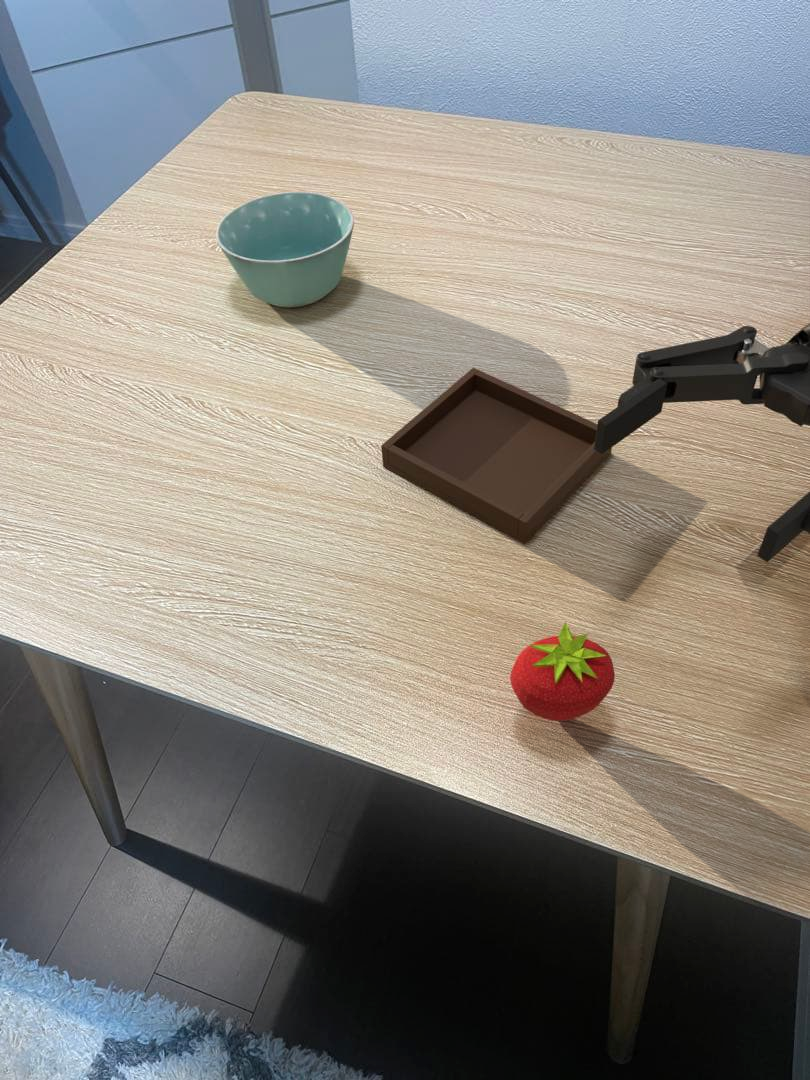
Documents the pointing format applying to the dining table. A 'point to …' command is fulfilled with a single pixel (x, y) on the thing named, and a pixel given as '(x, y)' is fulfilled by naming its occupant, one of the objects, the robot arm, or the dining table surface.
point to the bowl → (288, 245)
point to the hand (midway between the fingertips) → (678, 488)
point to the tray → (496, 453)
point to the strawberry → (562, 676)
